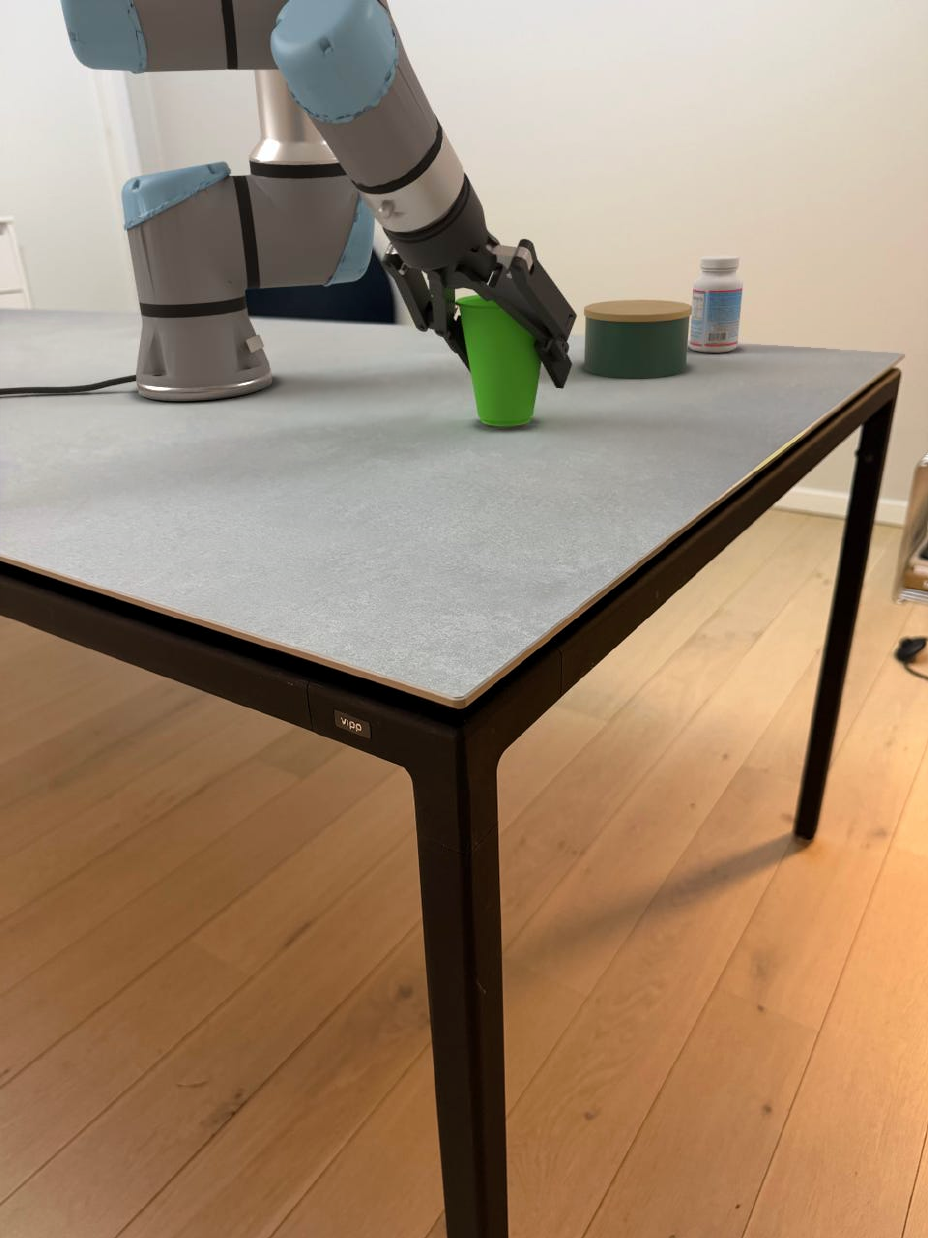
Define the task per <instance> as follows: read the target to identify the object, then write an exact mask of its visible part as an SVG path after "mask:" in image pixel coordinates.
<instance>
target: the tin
mask: <svg viewBox="0 0 928 1238" xmlns="http://www.w3.org/2000/svg"><path fill="white" fill-rule="evenodd" d="M691 315H692V304H688V303H685V302H680V301H674V300H662V299H661V300H660V299H623V300H622V299H621V300H609V301H600V302H594V303H591V304H587V305H585V306H584V307H583V316H584V317H585V321H584V323H585V324H584V329H585V330H584V355H583V356H584V358H583V359H584V360H583V368H584V370H585V371H586V372H587V373H590V374H593V375H596V376H601V377H608V378H615V379H617V378H618V379H653V378H655V379H656V378H662V377H670V376H674V375H678V374H681V373H683V372H685V371H686V369H687V368H686V367H687V359H688V358H687V357H688V344H689V332H690V331H689V330H690V329H689V328H690V318H691V317H690V316H691Z"/></svg>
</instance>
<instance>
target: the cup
mask: <svg viewBox="0 0 928 1238" xmlns="http://www.w3.org/2000/svg"><path fill="white" fill-rule="evenodd" d="M455 305H456V307H458V310H459V313H460V314H459V315H461V320H462V326H463V332H464V337H465V343H466V349H467V354H468V360H469V366H470V372H471V373H470V372H469V373H470V375H471V383H472V389H473V394H474V399H475V406H476V410H477V417H478V418H480V422H481V423H482V424H484V425H488V426H496V427H513V426H514V427H515V426H520V425H521V426H522V425H525V424H528V423H530V422H531V420H532V417H533V416H534V412H535V407H536V406H535V405H536V400H537V395H538V387H539V380H540V374H541V369H542V364H543V363H542V361H541V359H540V357H539V356H538V354H537V352H536V350H535V348H534V344H535V341H536V338H535V337H533V336H532V335H531V334H530V333H529V332H528V331H527V330H525V329H524V328H523V327H522V326H521V325H520V324H519V323H518V322H516V321H515V320H514V319H513V318H512V317H511V316H510V315H508V314H507V313H506V312H505V311H504V310H503V309H502V308H501V307H499V306H498V305H497V304H496V303H495V302H494V301H492V300H491V301H485V300H484V299H483V298H481V297H480V296H479V295H478V294H474V295H467V296H463V297H459V298H457V299H455Z"/></svg>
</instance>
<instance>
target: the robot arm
mask: <svg viewBox="0 0 928 1238" xmlns="http://www.w3.org/2000/svg"><path fill="white" fill-rule="evenodd" d="M60 6H61V12H62V16H63V21H64V24H65V28H66V33H67V36H68V40H69V43H70V46H71V49H72V52H73V54H74V56H75V58H76V59H77V61H78V62H79V63H80V64H81V65H82V66H83V67H86V68H87V69H91V70H97V71H100V70H101V71H120V72H121V71H122V72H130V73H132V74H135V75H138V74H144V73H163V72H195V71H197V72H198V71H199V72H200V71H203V72H204V71H227V70H228V71H253V72H254V82H255V92H256V102H257V110H258V119H259V129H260V138H259V141H258V143H257V144H256V145H255V146H254V148H253V149H252V150H251V152H250V153H249V155H248V162H249V171H250V173H249V174H246V175H245V174H244V175H231V174H232V169H231V168H230V167H229V164H228V163H227V162H226V161H224V160H223V161H215V162H210V163H205V164H199V165H198V164H197V165H192V166H187V167H181V168H176V169H171V170H166V171H159V172H154V173H149V174H143V175H139V176H133V177H131V178H129V179H128V180H127V181H125V182H124V184H123V185H122V188H121V191H120V192H121V203H122V204H121V205H122V212H123V219H124V224H123V230H124V231H126V233H127V239H128V245H129V251H130V257H131V262H132V269H133V274H134V281H135V287H136V293H137V297H138V302H139V310H140V315H141V321H142V323H141V324H142V325H141V333H140V339H139V340H140V341H139V349H138V355H137V361H136V371H135V374H132V375H131V374H130V375H127V376H122V377H117V378H112V379H106V380H102V381H99V382H95V383H91V384H89V383H88V384H83V385H82V384H81V385H71V386H20V387H4V388H3V387H1V388H0V396H5V395H6V396H7V395H25V394H26V395H28V394H29V395H30V394H74V393H85V392H93V391H97V390H101V389H105V388H109V387H113V386H119V385H123V384H124V385H125V384H129V383H133V382H135V383H136V387H137V392H138V395H140V396H142V397H143V398H147V399H151V400H157V401H169V402H194V401H195V402H196V401H206V400H207V401H208V400H218V399H219V400H220V399H226V398H231V397H238V396H242V395H247V394H251V393H255V392H258V391H260V390H263V389H266V388H267V387H269V386H270V385H271V384H272V383H273V376H272V375H273V374H272V369H271V365H270V361H269V360H268V357H267V355H266V352H265V350H264V348H265V344H264V342H263V340H262V337H261V335H260V334H257V333H256V331H255V328H254V326H253V323H252V321H251V319H250V316H249V311H248V307H247V306H248V305H247V297H246V290H257V289H272V288H286V287H287V288H288V287H303V286H304V287H305V286H321V285H322V286H323V287H329V286H331V285H335V284H336V285H337V284H344V283H352V282H357V281H359V279H361V278H362V277H363V276H364V275H365V273H366V272H367V270H368V267H369V265H370V262H371V259H372V253H373V248H374V242H375V241H374V240H375V238H374V237H375V231H376V230H375V229H376V221H377V223H378V224H379V225H380V226H381V228H382V231H383V233H384V234H385V235H386V237H387V239H388V241H389V244H388V246H387V247H386V250H385V253H384V255H383V257H382V259H381V261H380V265H381V266H382V267H383V269H384V270H385V271H386V272H387V274H389V276H390V277H391V278H392V279H393V280H394V282H395V285H396V287H397V289H398V291H399V294H400V296H401V298H402V300H403V303H404V305H405V306H406V308H407V309H406V310H407V311H408V313H409V315H410V318H411V319H412V322H413V324H414V326H415V328H416V329H417V330H418V331H419V332H422V333H427V332H428V331H429V330H433V331H434V333H435V334H436V335H437V336H438V337H440V338H443V340H444V341H445V343H446V344H447V346H448V347H449V349H450V350H451V351H452V352H453V353H454V354H457V355H458V357H459V359H460V360H461V362H462V363H463V365H464V366H465V367H466V369H467V370H468V372H469V374H471V372H470V366H469V360H468V354H467V349H466V343H465V337H464V332H463V326H462V320H461V315H460V314H458V315H457V317H456V314H457V312H458V310H459V306H457V305H455V302H456V290H459V289H466V290H472V291H473V292H474V293H476V295H479V296H480V297H481V298H483V299H484V300H485V301H491V300H492V301H494V302H495V303H496V304H497V305H498V306H499V307H501V308H502V309H503V310H504V311H505V312H506V313H507V314H508V315H510V316H511V317H512V318H513V319H514V320H515V321H516V322H518V323H519V324H520V325H521V326H522V327H523V328H524V329H525V330H527V331H528V332H529V333H530V334H531V335H532V336H533V337H535V338H536V341H535V344H534V348H535V350H536V352H537V354H538V356H539V357H540V359H541V361H542V363H541V364H542V365H543V366H544V368H545V369H544V370H546V372H547V375H548V376H549V378H550V379H551V382H552V383H553V385H554V387H555V389H561V390H563V389H564V388H565V385H566V383H567V380H568V377H569V375H570V372H571V370H572V368H573V362H572V360H571V358H570V356H569V355H568V353H569V350H570V344H569V342H568V340H569V338H570V336H571V333H572V330H573V327H574V325H575V322H576V320H577V318H578V314H577V313H576V311H575V310H574V309H573V307H572V305H570V303H569V302H568V300H567V299H566V297H565V295H563V293H562V292H561V290H560V289H559V288H558V286H557V285H556V283H555V282H554V280H553V279H552V278H551V276H550V274H549V273H548V272H547V271H546V269H545V268H544V267H543V265H542V264H541V262H540V261H539V259H538V256H537V252H536V249H535V245H534V242H532V241H531V240H530V239H527V238H521V239H520V240H519V242H518V244H517V246H511V245H505V244H501V243H500V240H498V239H497V237H496V236H495V235H493V234H492V233H491V232H490V231H489V229H488V228H487V223H486V217H485V211H484V207H483V204H482V202H481V200H480V198H479V196H478V195H477V193H476V190H475V188H474V187H473V184H472V183H471V180H470V179H469V177H468V175H467V174H466V172H465V171H464V166H463V164H462V162H461V160H460V159H459V157H458V155H457V153H456V150H455V149H454V147H453V145H452V143H451V142H450V140H449V137H448V136H447V134H446V132H445V129H444V128H443V126H442V124H441V123H440V121H439V119H438V117H437V115H436V113H435V112H434V110H433V108H432V105H431V104H430V102H429V100H428V97H427V95H426V93H425V91H424V89H423V87H422V86H421V83H420V81H419V79H418V77H417V74H416V73H415V70H414V69H413V66H412V64H411V62H410V59H409V57H408V55H407V51H406V49H405V47H404V44H403V41H402V38H401V34H400V32H399V29H398V27H397V25H396V23H395V19H394V18H393V16H392V13H391V10H390V6H389V3H388V0H60ZM424 274H426V278H425V276H424ZM426 279H427V281H428V283H427V281H426ZM455 317H456V319H455Z"/></svg>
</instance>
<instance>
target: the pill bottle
mask: <svg viewBox="0 0 928 1238" xmlns="http://www.w3.org/2000/svg"><path fill="white" fill-rule="evenodd" d="M699 267H700V271H701V275H699V276H698V277H696V279H695V280H694V282H693V286H692V287H693V289H692V302H691V306H692V314H691V315H690V316H691V317H690V318H691V319H690V331H689V332H690V336H689V348H690V350H692V351H694V352H699V353H708V354H709V353H710V354H711V353H712V354H714V353H716V354H719V353H728V352H731V351H734V350H736V348H738V343H739V335H740V334H739V333H740V321H741V320H740V319H741V309H742V298H743V288H744V287H743V286H744V282H743V280H742V278H741V277H740V276H739V275H737V270H739V267H740V256H738V255H730V254H719V255H717V254H715V255H706V256H705V255H704V256H701V257H700V265H699Z"/></svg>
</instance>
